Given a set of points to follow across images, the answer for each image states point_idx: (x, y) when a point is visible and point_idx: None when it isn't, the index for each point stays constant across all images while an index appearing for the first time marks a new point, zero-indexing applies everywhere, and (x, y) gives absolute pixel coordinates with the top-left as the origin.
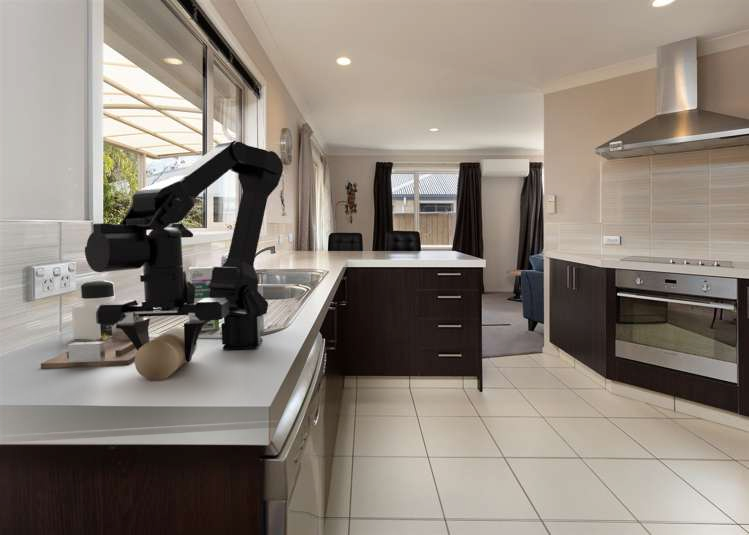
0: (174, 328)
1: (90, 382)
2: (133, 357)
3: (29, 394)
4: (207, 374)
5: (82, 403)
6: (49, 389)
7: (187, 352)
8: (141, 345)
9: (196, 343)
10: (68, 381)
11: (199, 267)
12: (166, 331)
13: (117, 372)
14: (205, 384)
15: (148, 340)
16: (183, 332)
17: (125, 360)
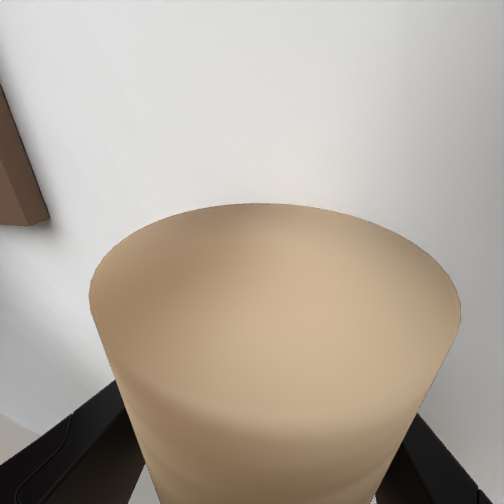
0: (215, 451)
1: (77, 369)
2: (6, 168)
3: (11, 400)
4: (439, 405)
5: None
6: (22, 385)
7: None
8: (132, 487)
9: (437, 269)
10: (8, 347)
11: None
12: (162, 464)
13: (83, 305)
14: None
15: (107, 444)
16: (362, 484)
17: (15, 223)
